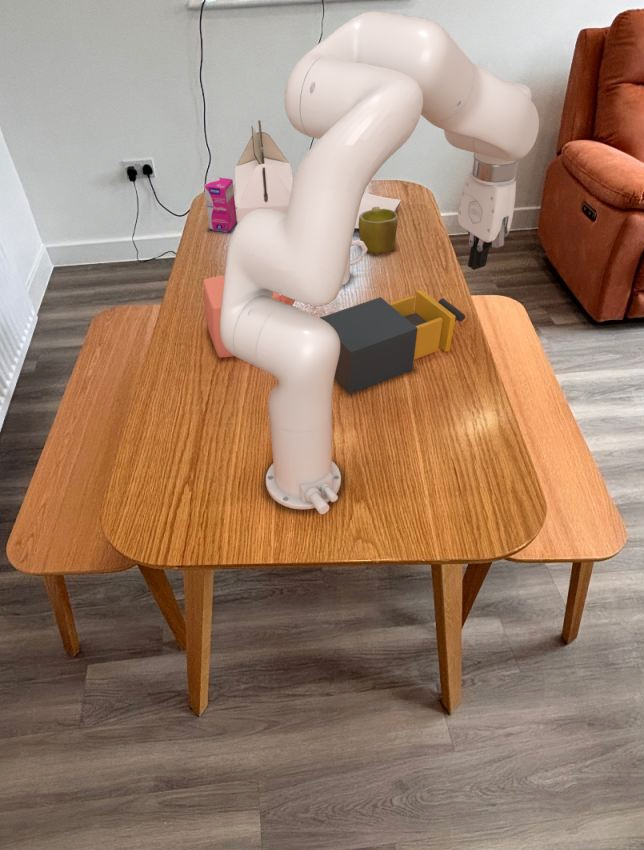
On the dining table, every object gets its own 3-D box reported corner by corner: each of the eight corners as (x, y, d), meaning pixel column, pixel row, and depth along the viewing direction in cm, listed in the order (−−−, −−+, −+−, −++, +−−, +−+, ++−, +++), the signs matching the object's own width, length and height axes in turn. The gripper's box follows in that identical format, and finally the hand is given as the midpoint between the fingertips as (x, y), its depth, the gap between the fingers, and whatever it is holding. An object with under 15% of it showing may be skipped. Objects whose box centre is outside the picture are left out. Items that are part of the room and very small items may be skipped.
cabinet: (377, 338, 134) (380, 296, 126) (412, 370, 126) (417, 328, 119) (317, 360, 129) (316, 318, 122) (349, 394, 122) (351, 352, 115)
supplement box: (209, 231, 167) (202, 185, 158) (217, 220, 170) (211, 175, 162) (229, 233, 165) (224, 187, 157) (238, 223, 169) (233, 178, 160)
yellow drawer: (434, 316, 137) (439, 282, 131) (468, 343, 130) (475, 309, 124) (363, 342, 132) (364, 308, 126) (394, 371, 125) (397, 337, 119)
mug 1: (367, 286, 147) (369, 244, 140) (315, 288, 147) (315, 247, 140) (364, 268, 152) (366, 227, 145) (314, 270, 152) (313, 229, 145)
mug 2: (402, 253, 153) (392, 209, 147) (360, 263, 156) (350, 221, 151) (406, 238, 162) (398, 197, 157) (367, 248, 166) (358, 208, 160)
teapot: (221, 375, 127) (211, 314, 116) (202, 316, 141) (192, 256, 130) (317, 357, 130) (316, 295, 119) (290, 301, 144) (287, 241, 133)
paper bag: (242, 238, 164) (229, 116, 142) (293, 234, 164) (288, 112, 143) (243, 284, 149) (229, 155, 128) (300, 280, 150) (295, 151, 128)
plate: (405, 209, 172) (406, 199, 170) (369, 241, 161) (369, 231, 159) (339, 193, 179) (339, 183, 177) (300, 223, 168) (300, 213, 166)
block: (426, 342, 129) (429, 323, 126) (408, 348, 128) (410, 329, 124) (413, 331, 132) (415, 312, 128) (395, 337, 130) (397, 318, 127)
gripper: (450, 157, 114) (437, 255, 128) (506, 188, 106) (485, 289, 120) (484, 148, 116) (467, 245, 130) (541, 178, 108) (517, 278, 122)
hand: (476, 266), depth 125 cm, fingers closed
